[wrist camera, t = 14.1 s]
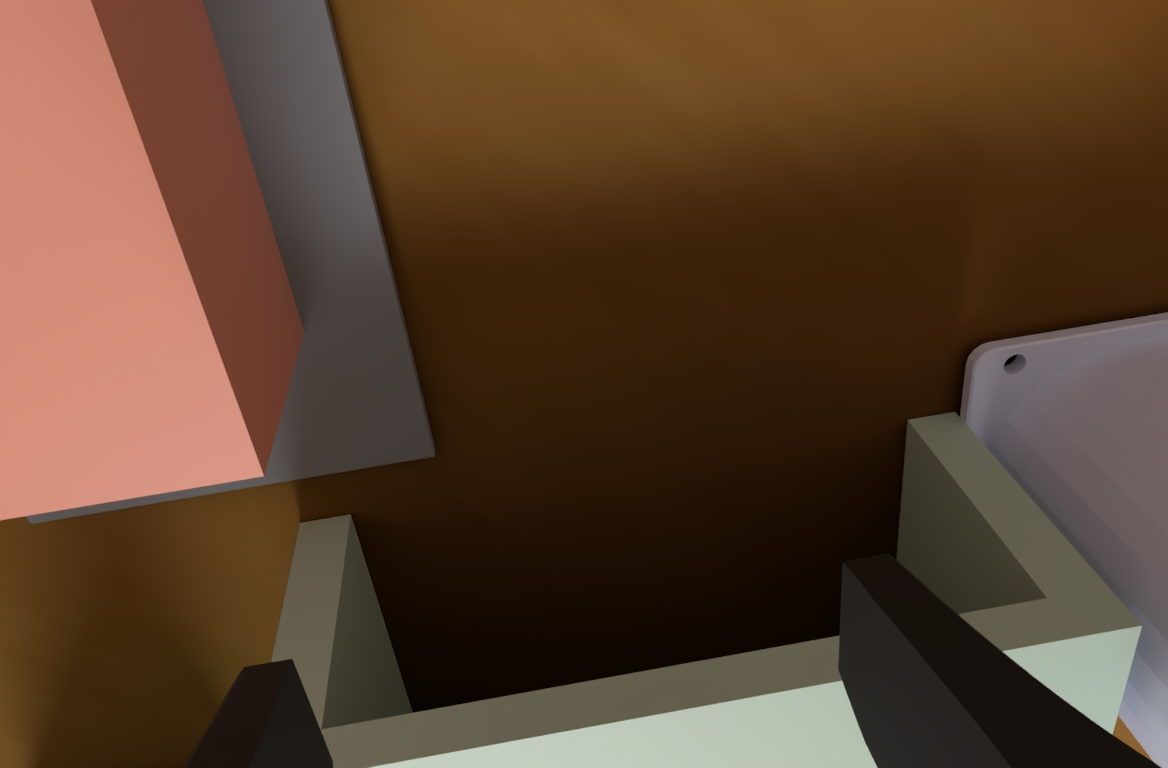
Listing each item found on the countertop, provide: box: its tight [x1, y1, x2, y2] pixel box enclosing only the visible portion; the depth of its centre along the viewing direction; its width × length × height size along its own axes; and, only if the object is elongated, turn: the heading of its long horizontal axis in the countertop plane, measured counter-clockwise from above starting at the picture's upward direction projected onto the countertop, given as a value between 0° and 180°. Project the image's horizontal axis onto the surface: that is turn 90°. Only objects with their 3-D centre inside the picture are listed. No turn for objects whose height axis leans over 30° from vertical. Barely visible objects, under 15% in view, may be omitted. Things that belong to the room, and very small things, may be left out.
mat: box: [26, 0, 435, 524], centre depth 16 cm, size 9×18×1 cm, turn 6°
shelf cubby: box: [271, 412, 1142, 768], centre depth 22 cm, size 16×9×7 cm, turn 96°
